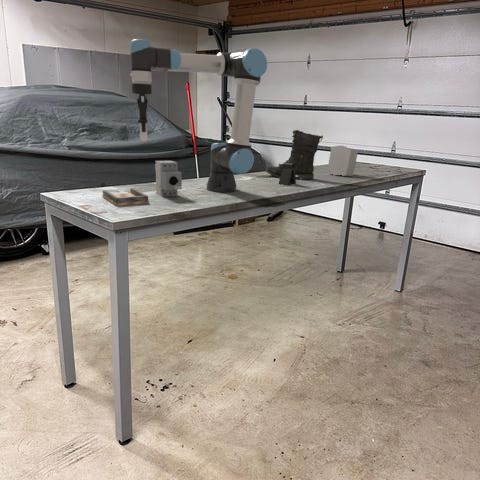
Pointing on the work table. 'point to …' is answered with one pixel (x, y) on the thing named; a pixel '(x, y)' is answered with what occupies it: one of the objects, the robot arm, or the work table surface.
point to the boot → (300, 155)
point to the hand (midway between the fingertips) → (143, 139)
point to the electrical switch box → (342, 161)
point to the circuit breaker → (167, 178)
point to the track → (126, 198)
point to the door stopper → (287, 174)
